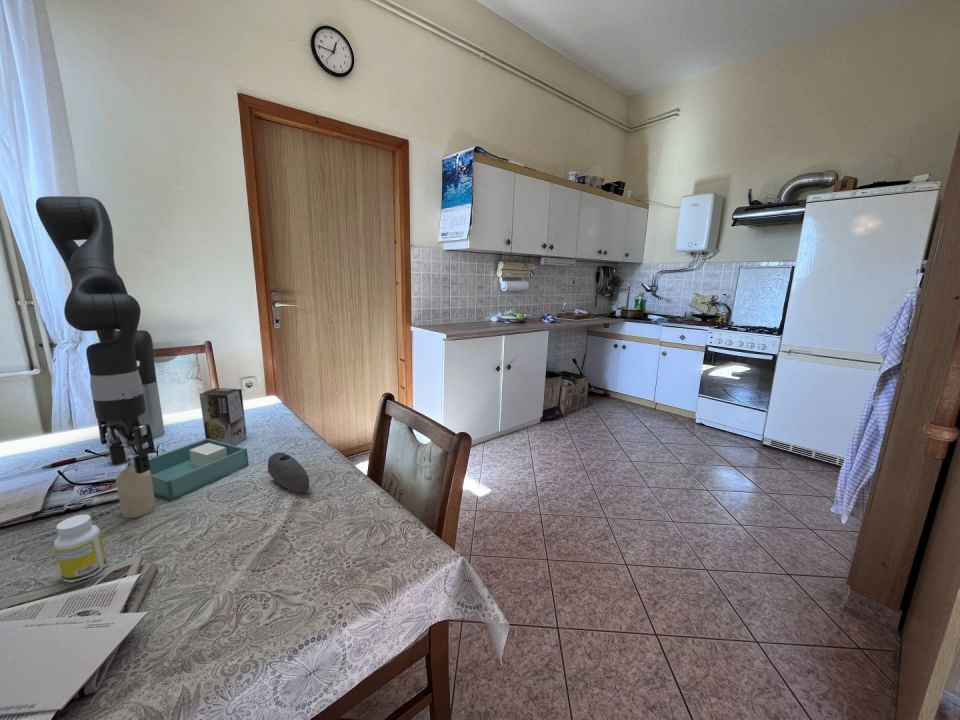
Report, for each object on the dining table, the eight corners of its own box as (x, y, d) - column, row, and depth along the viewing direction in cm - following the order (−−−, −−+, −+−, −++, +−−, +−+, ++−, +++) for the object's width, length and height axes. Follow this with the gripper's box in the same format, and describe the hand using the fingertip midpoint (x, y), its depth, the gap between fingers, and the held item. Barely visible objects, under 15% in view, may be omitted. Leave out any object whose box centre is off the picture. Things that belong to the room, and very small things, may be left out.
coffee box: (248, 437, 122) (242, 388, 118) (233, 446, 116) (227, 394, 112) (221, 436, 123) (215, 387, 119) (205, 444, 116) (198, 393, 113)
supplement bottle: (82, 561, 69) (72, 512, 67) (115, 560, 69) (105, 511, 67) (52, 584, 63) (39, 532, 61) (88, 583, 64) (76, 531, 62)
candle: (162, 506, 85) (155, 465, 83) (133, 521, 80) (125, 477, 78) (145, 501, 87) (138, 460, 85) (116, 515, 82) (107, 472, 80)
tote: (129, 485, 93) (126, 467, 92) (209, 453, 110) (207, 438, 109) (170, 501, 87) (167, 481, 86) (248, 465, 104) (246, 448, 103)
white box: (191, 465, 102) (189, 449, 101) (210, 457, 106) (208, 442, 105) (209, 471, 99) (206, 455, 98) (227, 463, 104) (226, 447, 103)
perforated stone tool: (317, 493, 92) (315, 466, 91) (295, 502, 88) (293, 474, 87) (287, 472, 101) (285, 448, 100) (266, 480, 97) (264, 454, 96)
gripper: (74, 393, 77) (89, 468, 80) (115, 403, 72) (129, 483, 75) (120, 385, 84) (132, 454, 87) (161, 393, 79) (172, 466, 82)
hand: (131, 467), depth 81 cm, fingers open, 8 cm apart
